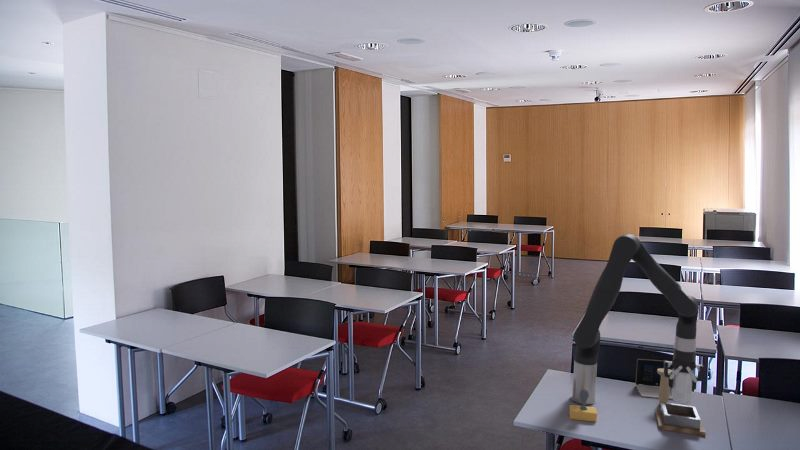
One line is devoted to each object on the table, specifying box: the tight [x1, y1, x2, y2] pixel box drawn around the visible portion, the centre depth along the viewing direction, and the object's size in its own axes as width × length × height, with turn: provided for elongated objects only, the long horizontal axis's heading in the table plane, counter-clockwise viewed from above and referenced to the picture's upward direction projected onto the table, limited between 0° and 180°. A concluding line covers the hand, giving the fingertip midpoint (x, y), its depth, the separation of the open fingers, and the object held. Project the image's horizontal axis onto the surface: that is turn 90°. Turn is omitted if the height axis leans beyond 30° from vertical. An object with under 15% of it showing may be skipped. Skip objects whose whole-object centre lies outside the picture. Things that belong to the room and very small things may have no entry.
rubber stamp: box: [568, 389, 598, 422], centre depth 230 cm, size 10×6×12 cm, turn 78°
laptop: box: [635, 358, 674, 400], centre depth 255 cm, size 18×12×13 cm
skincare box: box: [671, 370, 693, 405], centre depth 224 cm, size 6×4×12 cm
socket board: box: [654, 402, 707, 437], centre depth 226 cm, size 16×15×6 cm
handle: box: [657, 368, 672, 406], centre depth 243 cm, size 5×6×15 cm
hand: (681, 388), depth 225 cm, fingers closed on skincare box, 7 cm apart
